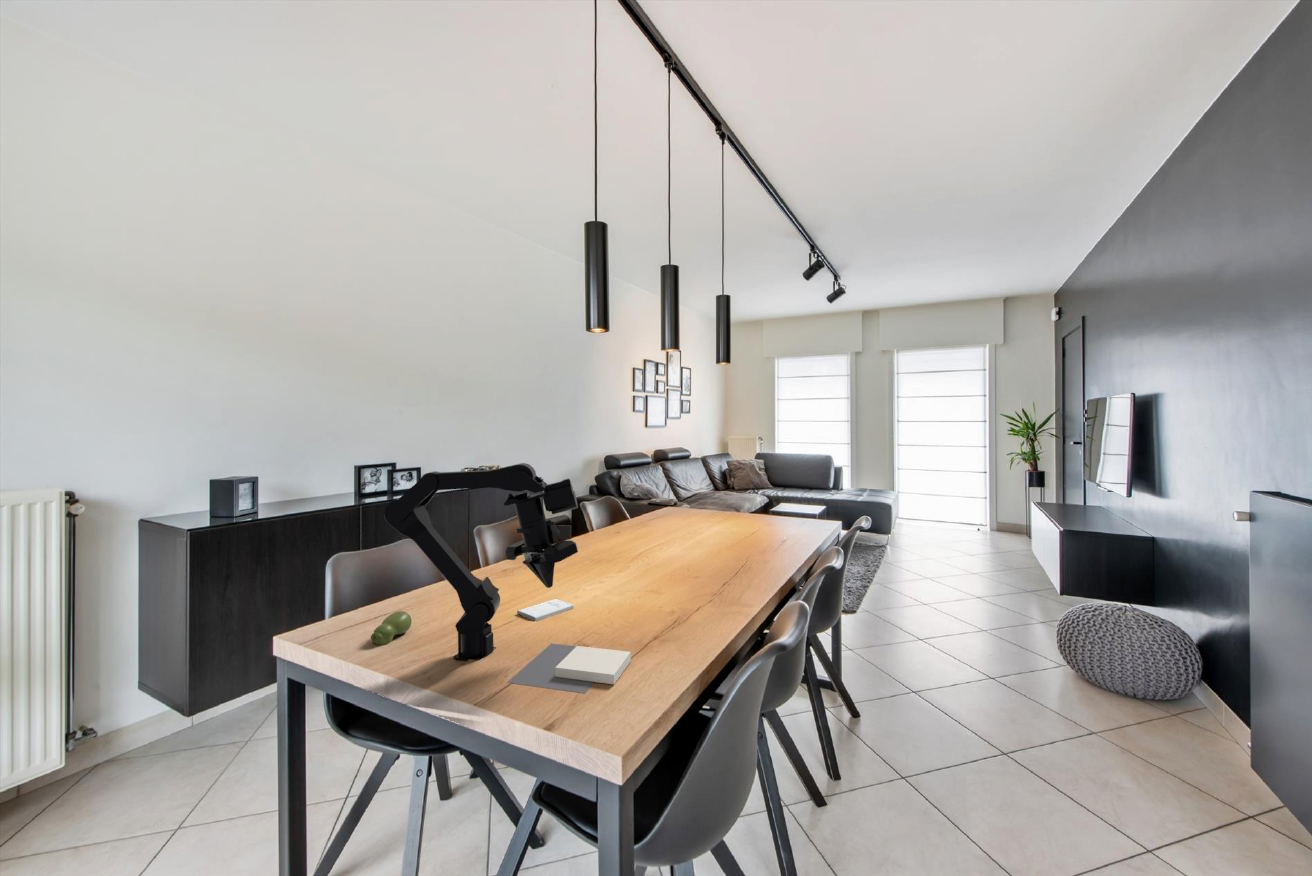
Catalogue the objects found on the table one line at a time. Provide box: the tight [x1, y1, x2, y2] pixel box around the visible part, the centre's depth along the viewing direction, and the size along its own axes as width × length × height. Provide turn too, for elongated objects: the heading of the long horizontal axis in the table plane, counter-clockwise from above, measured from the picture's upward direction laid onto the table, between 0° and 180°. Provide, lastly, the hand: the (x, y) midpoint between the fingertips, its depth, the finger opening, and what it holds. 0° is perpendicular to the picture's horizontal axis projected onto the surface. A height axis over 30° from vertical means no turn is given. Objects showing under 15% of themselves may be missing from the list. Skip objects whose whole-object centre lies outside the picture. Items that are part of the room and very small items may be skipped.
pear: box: [370, 610, 413, 646], centre depth 117 cm, size 6×5×10 cm
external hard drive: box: [516, 598, 574, 622], centre depth 133 cm, size 2×8×12 cm
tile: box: [555, 645, 632, 685], centre depth 99 cm, size 2×10×12 cm
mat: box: [506, 643, 595, 694], centre depth 100 cm, size 16×18×1 cm
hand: (549, 587), depth 110 cm, fingers closed
